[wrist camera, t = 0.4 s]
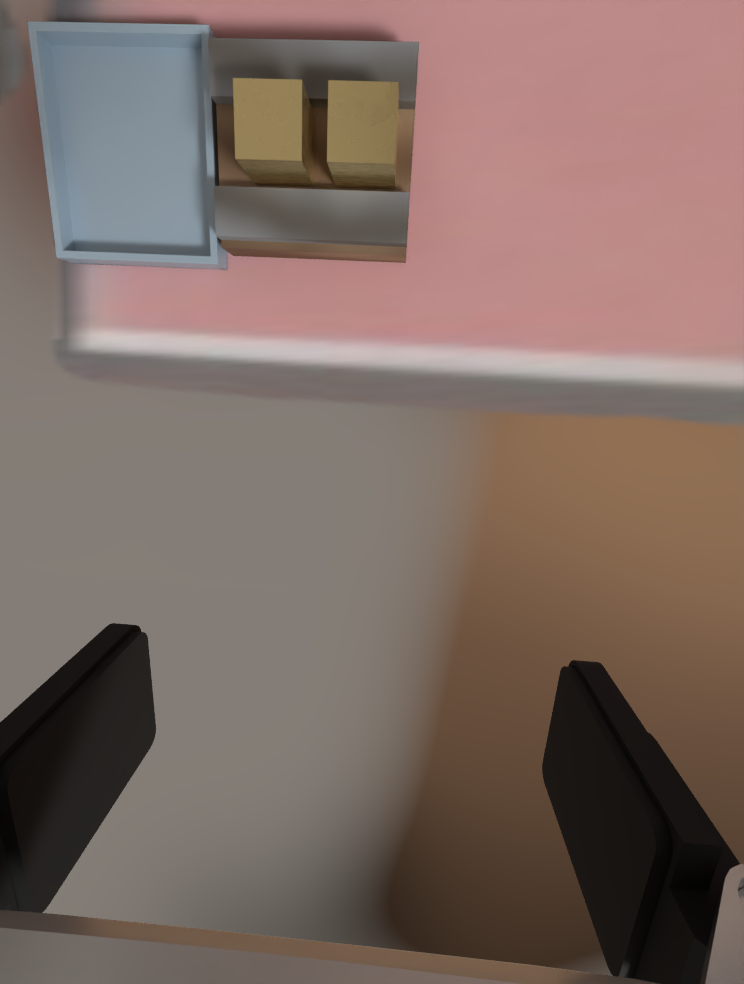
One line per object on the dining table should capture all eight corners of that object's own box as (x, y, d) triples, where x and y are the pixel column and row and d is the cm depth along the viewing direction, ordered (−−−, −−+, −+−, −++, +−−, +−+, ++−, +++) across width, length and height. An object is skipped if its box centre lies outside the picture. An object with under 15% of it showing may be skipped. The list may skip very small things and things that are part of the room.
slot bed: (227, 63, 32) (207, 27, 28) (417, 67, 31) (419, 31, 28) (233, 255, 35) (216, 244, 32) (405, 262, 34) (406, 251, 31)
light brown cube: (337, 116, 30) (328, 80, 26) (398, 118, 30) (398, 81, 26) (335, 186, 31) (326, 161, 27) (395, 188, 31) (394, 163, 27)
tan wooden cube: (254, 114, 30) (232, 78, 26) (314, 115, 30) (302, 79, 26) (255, 183, 31) (235, 158, 27) (313, 186, 31) (301, 160, 27)
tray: (49, 41, 32) (27, 21, 30) (220, 45, 31) (208, 24, 30) (75, 263, 36) (56, 257, 34) (227, 269, 35) (217, 264, 33)
